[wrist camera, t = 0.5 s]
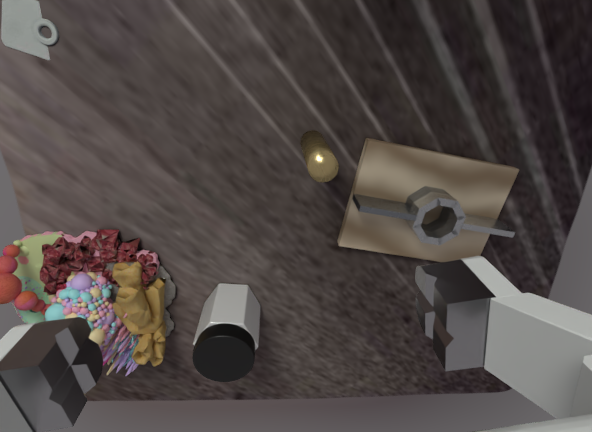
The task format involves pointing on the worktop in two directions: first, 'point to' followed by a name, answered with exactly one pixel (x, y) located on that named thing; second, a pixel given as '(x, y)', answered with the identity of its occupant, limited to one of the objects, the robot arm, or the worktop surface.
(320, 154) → the pin
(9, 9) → the mounting bracket
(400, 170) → the birch board
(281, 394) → the worktop surface
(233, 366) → the jar
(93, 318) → the candy landscape model
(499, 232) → the grey metal ringed bar
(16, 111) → the worktop surface
